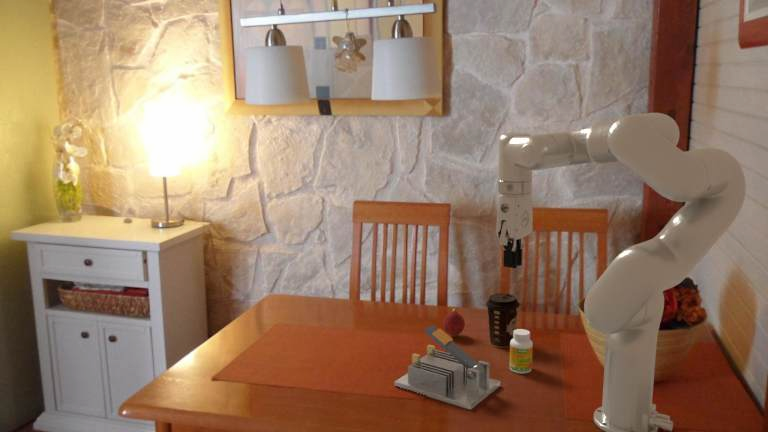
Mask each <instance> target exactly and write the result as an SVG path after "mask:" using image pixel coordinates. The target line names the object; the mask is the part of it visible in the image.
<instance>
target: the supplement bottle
mask: <svg viewBox="0 0 768 432" xmlns="http://www.w3.org/2000/svg"><path fill="white" fill-rule="evenodd" d="M513 337H514V338H513V339H512V340H511V341H510V347H509V369H510V371H511V372H513V373H516V374H522V375H524V374H529V373H531V372H532V369H533V348H534V347H533V346H534V345H533V344H534V343H533V341H532V340H531V332H530V331H529V330H528V329H524V328H517V329H515V330H514V331H513Z"/></svg>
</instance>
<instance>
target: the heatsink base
mask: <svg viewBox="0 0 768 432" xmlns="http://www.w3.org/2000/svg"><path fill="white" fill-rule="evenodd" d="M477 362H478V363H483V364H484V365H485V366H486V372H485V373H483V374H482V375H481V376H479V370H476V369H472V368H469V369H467V368H466V367H465V366H464V365H462V364H461V363H460V362H459V361H458V360H457V359H455V358H454V357H453V356H452V355H451V354H449V353H448V352H447V351H446V352H445V351H441V350H439V349H436V345H433V344H428V345H426V354H425V355H424V356H422V357H421V354H417V353H416V352H415V353H413V354H411V364H410V365H407V372H406V373H405V374H404V375H402V376H401V377H400V378H398V379H396V380H395V381H394V387H395V386H398V387H400V388H399V389H402V388H403V389H402V390H405V389H407V390H406V391H408V390H411V391H414V392H417V393H416V394H418V393H420V394H419V395H421V394H423V395H422V396H424V395H426V396H425V397H428V398H431V399H433V400H434V399H435V400H437V401H440V402H443V403H447V404H450V405H452V406H453V405H454V406H457V407H460V408H462V409H466V410H470V411H471V410H472V409H474V408H475V407H476V406H477V405H479V404H480V403H481V402H482V401H484V400H485V399H486V398H487V397H489V396H490V395H491V394H492V393H494V392H495V391H496V390H497V389H498V388H499V387H501V381H500V380H497V379H493V378H490V362H488V361H484V360H478V361H477ZM398 387H397V388H398ZM411 391H410V392H411ZM414 392H413V393H414Z"/></svg>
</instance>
